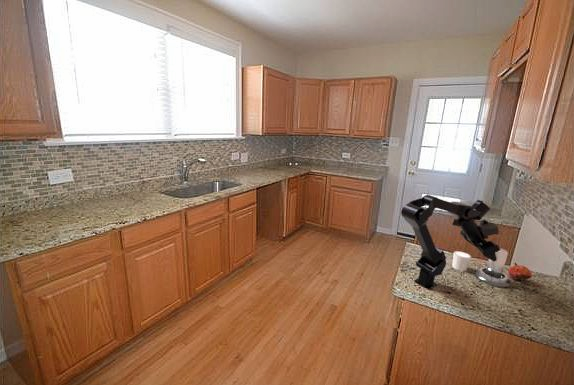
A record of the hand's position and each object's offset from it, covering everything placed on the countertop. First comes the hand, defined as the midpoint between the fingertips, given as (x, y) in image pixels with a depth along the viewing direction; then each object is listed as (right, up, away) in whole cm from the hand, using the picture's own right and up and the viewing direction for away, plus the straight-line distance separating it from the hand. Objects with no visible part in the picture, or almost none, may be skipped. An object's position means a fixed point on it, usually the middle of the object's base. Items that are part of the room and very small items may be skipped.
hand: (488, 255), depth 110 cm
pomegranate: (+16, -12, +4) cm, 20 cm away
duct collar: (+4, -12, +3) cm, 13 cm away
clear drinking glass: (+4, -11, +3) cm, 12 cm away
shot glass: (-5, -9, +12) cm, 16 cm away
